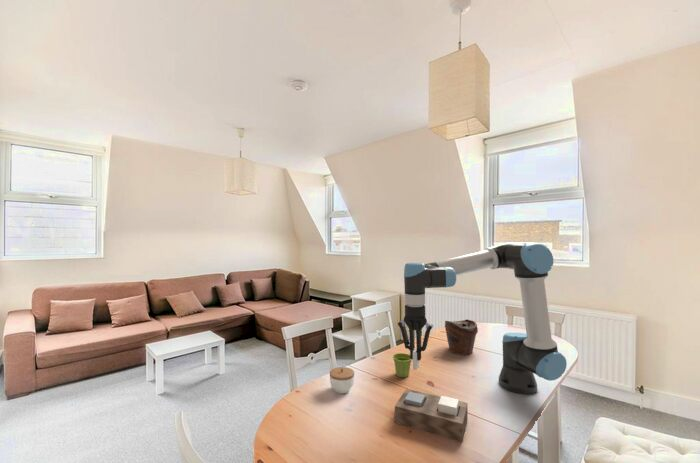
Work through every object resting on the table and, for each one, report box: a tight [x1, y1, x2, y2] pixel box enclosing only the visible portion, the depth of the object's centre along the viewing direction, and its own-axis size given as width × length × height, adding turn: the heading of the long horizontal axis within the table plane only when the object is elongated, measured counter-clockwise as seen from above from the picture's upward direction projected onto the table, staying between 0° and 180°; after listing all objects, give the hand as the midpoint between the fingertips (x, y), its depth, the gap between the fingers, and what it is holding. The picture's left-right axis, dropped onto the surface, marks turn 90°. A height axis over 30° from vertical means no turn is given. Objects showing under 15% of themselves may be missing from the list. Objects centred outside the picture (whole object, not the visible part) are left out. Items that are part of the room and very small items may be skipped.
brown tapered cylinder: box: [444, 319, 479, 356], centre depth 180 cm, size 18×20×18 cm
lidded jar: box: [329, 366, 355, 395], centre depth 134 cm, size 11×11×9 cm
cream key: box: [438, 395, 460, 416], centre depth 109 cm, size 6×6×4 cm
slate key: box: [405, 392, 425, 407], centre depth 114 cm, size 6×6×4 cm
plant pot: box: [392, 352, 413, 379], centre depth 149 cm, size 9×9×9 cm
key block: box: [394, 388, 469, 443], centre depth 112 cm, size 23×14×6 cm, turn 63°
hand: (415, 368), depth 115 cm, fingers closed
